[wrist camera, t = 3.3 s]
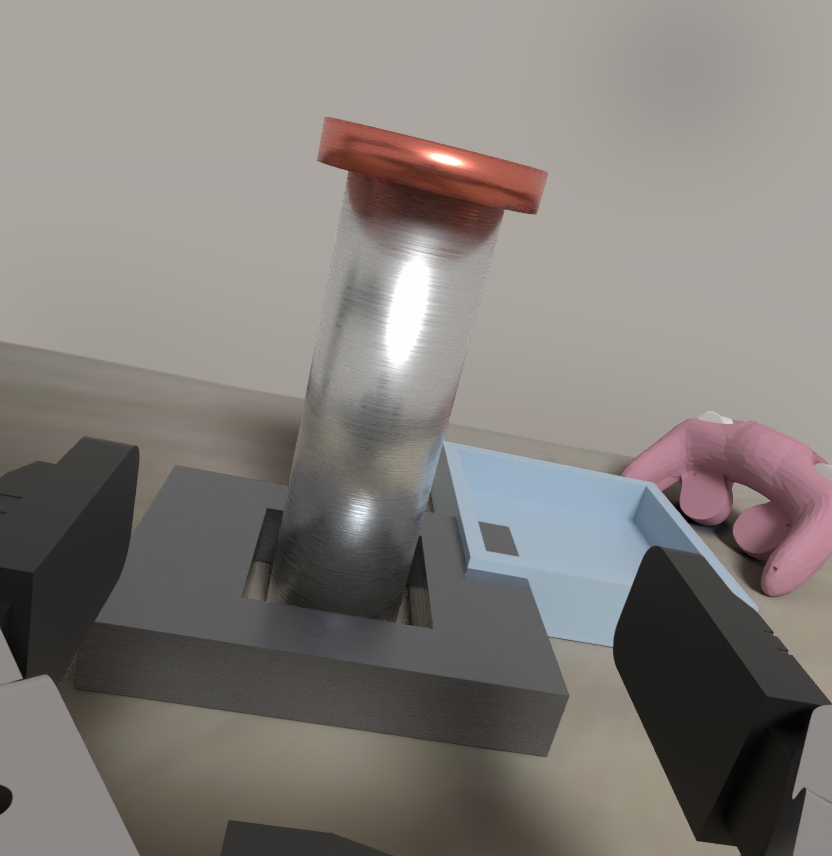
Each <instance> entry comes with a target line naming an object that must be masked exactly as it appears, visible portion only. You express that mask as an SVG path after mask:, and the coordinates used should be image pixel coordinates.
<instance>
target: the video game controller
mask: <svg viewBox="0 0 832 856" xmlns="http://www.w3.org/2000/svg"><path fill="white" fill-rule="evenodd" d="M620 476H623V477H628V478H633V479H638V480H643V481H648V482H653V483H655V484H656V486H657V487H658V488H659V489H660V490H661V492H662V491H664V490H665V489H667V488H669V487H670V486H672V485H673V484H675V483H676V482H680V483H681V484H682V490H681V495H680V506H681V509H682V511H683V512H684V513H685V514H686V515H687V516H688V517H690V518H691V519H692V520H693V521H695V522H696V523H698V524H700V525H703V526H714V525H717V524H720V523H722V522H723V521H724V520H725V519H726V518H727V517H728V516H729V514H730V512H731V510H732V504H733V494H732V486H733V483H734V482H736V483H739V484H742V485H745V486H748V487H749V488H751V489H753V490H755V491H757V492H759V493H760V494H762V495H763V496H765V497H766V498H768V499H769V500H771V502H768V503H765V504H761V505H756V506H753V507H751V508H749V509H747V510H745V511H744V512H743V513H742V514H741V515H740V516H739V517H738V518H737V520H736V521H735V523H734V526H733V535H734V538H735V540H736V542H737V543H738V545H739V546H740V547H741V549H742V550H743V551H744V552H745V553H746V554H748V555H749V556H751V557H753V558H755V559H758V560H763V561H766V560H768V561H767V563H766V565H765V567H764V570H763V574H762V578H761V589H762V591H763V592H764V593H765V594H766V595H768V596H771V597H774V596H782V595H785V594H787V593H790V592H792V591H793V590H795V589H797V588H798V587H800V586H801V585H802V584H804V583H805V582H806V581H807V580H809V579H810V578H811V577H812V576H813V575H814V574H815V573H816V572H817V571H818V570H819V569H820V568H821V567H822V565H823V564H824V563H825V562H826V561H827V559H828V558H829V557H830V556H831V554H832V465H830V464H829V463H828V462H827V461H825V460H824V459H823V458H822V457H820V456H819V455H818V454H817V453H815V452H814V451H813V450H812V449H810V448H809V447H808V446H806V445H805V444H803V443H801V442H799V441H797V440H795V439H794V438H792V437H790V436H787V435H785V434H783V433H781V432H778V431H776V430H774V429H771V428H769V427H767V426H764V425H762V424H759V423H757V422H753V421H749V422H743V421H737V420H731V419H729V418H727V417H720V415H718V414H717V413H715V412H705V413H703V414H702V415H700V416H699V418H698V419H687V420H685V421H684V422H682V423H680V424H679V425H677V426H676V427H674V428H673V429H672V430H671V431H669V432H668V433H667V434H666V435H664V436H663V437H662V438H661V439H659V440H658V441H657V442H656V443H654V444H653V445H652V446H650V447H649V448H648V449H646V450H645V451H644V452H642V453H641V454H640V455H638V456H637V457H636V458H635V459H633V460H632V461H631V462H630V463H629V464H628V465H627V466H626V467H625V469H624V470H623V472H622V473H621V475H620Z"/></svg>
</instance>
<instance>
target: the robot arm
mask: <svg viewBox="0 0 832 856" xmlns="http://www.w3.org/2000/svg"><path fill="white" fill-rule="evenodd" d="M138 469H139V449H138V447H137V446H135V445H129V444H124V443H119V442H113V441H108V440H103V439H98V438H92V437H87V436H85V437H83V438H81V439H80V440H79V441H78V442H77V443H76V444H75V445H74V447H73V448H72V449H71V450H70V451H69V452H68V453H67V454H66V455H65V456H64V457H63V458H62V459H61V460H60V461H59V462H58V463H57V464H52V463H46V462H41V461H37V462H34V463H32V464H29V465H27V466H24V467H21V468H19V469H16V470H14V471H11V472H8V473H6V474H5V475H4V476H3V477H2V478H0V856H140V855H139V853H138V851H137V849H136V847H135V845H134V843H133V841H132V839H131V837H130V835H129V833H128V831H127V829H126V827H125V825H124V823H123V821H122V819H121V817H120V815H119V813H118V811H117V809H116V807H115V805H114V803H113V801H112V799H111V796H110V794H109V792H108V790H107V788H106V786H105V784H104V782H103V780H102V778H101V776H100V774H99V772H98V770H97V768H96V766H95V764H94V762H93V760H92V758H91V756H90V754H89V752H88V750H87V748H86V746H85V744H84V742H83V740H82V738H81V736H80V734H79V732H78V730H77V728H76V726H75V724H74V722H73V720H72V717H71V715H70V713H69V711H68V709H67V707H66V705H65V703H64V701H63V699H62V697H61V695H60V693H59V691H58V689H57V685H58V683H59V681H60V680H61V678H62V676H63V675H64V673H65V671H66V669H67V668H68V666H69V664H70V663H71V661H72V659H73V657H74V656H75V654H76V652H77V651H78V649H79V647H80V645H81V644H82V642H83V640H84V639H85V637H86V635H87V633H88V632H89V630H90V628H91V627H92V625H93V623H94V621H95V620H96V618H97V616H98V615H99V613H100V611H101V609H102V608H103V606H104V604H105V603H106V601H107V599H108V597H109V596H110V594H111V592H112V591H113V589H114V587H115V585H116V584H117V582H118V580H119V578H120V576H121V573H122V570H123V567H124V564H125V561H126V557H127V553H128V549H129V544H130V537H131V528H132V520H133V511H134V503H135V494H136V486H137V477H138ZM773 633H774V632H773V631H772V630H771V628H770V627H769V626H768V625H767V624H766V622H765V621H764V620H763V619H762V617H761V616H760V615H759V614H758V613H757V611H756V610H755V609H753V608H752V607H751V606H749V605H748V604H747V603H746V602H744V601H743V600H742V599H740V598H739V597H738V596H736V595H735V594H734V593H733V592H732V591H731V590H730V589H729V587H728V586H727V585H726V584H725V582H724V581H723V580H722V579H721V577H720V576H719V575H718V574H717V572H716V571H715V570H714V569H713V567H712V566H711V565H710V564H709V562H708V561H707V560H706V559H705V557H704V556H703V555H701V554H698V553H693V552H688V551H682V550H677V549H672V548H667V547H661V546H652V547H650V548H649V549H648V550H647V551H646V553H645V554H644V556H643V558H642V561H641V563H640V566H639V568H638V571H637V573H636V576H635V579H634V581H633V584H632V586H631V589H630V592H629V594H628V597H627V599H626V602H625V605H624V607H623V610H622V612H621V615H620V618H619V620H618V623H617V626H616V629H615V633H614V639H613V655H614V661H615V665H616V667H617V670H618V672H619V674H620V676H621V678H622V680H623V683H624V685H625V687H626V689H627V691H628V693H629V696H630V698H631V700H632V702H633V704H634V706H635V709H636V711H637V713H638V715H639V717H640V719H641V722H642V724H643V726H644V728H645V730H646V732H647V735H648V737H649V739H650V741H651V743H652V745H653V748H654V750H655V752H656V754H657V756H658V758H659V761H660V763H661V765H662V767H663V769H664V771H665V774H666V776H667V778H668V780H669V782H670V784H671V787H672V789H673V791H674V793H675V795H676V797H677V800H678V802H679V804H680V806H681V808H682V810H683V813H684V815H685V817H686V819H687V821H688V823H689V826H690V828H691V830H692V832H693V834H694V836H695V839H696V841H700V842H708V843H715V844H722V845H730V846H737V848H738V849H739V851H740V854H739V856H832V703H831V702H830V701H829V700H828V698H827V697H826V696H825V695H824V693H823V692H822V691H821V690H820V689H819V687H818V686H817V685H816V684H815V682H814V681H813V680H812V679H811V678H810V676H809V675H808V674H807V673H806V671H805V670H804V669H803V668H802V666H801V665H800V664H799V663H798V662H797V660H796V659H795V658H794V657H793V655H788V649H787V648H786V647H785V646H784V644H783V643H782V642H781V641H780V640H779V638H778V637H776V636H773ZM221 856H392V855H390V854H387V853H384V852H381V851H379V850H376V849H373V848H371V847H368V846H365V845H362V844H360V843H357V842H354V841H351V840H349V839H346V838H343V837H341V836H338V835H335V834H332V833H324V832H317V831H309V830H301V829H293V828H285V827H278V826H270V825H262V824H254V823H247V822H239V821H231V820H228V825H227V829H226V834H225V839H224V843H223V848H222V853H221Z"/></svg>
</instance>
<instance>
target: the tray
mask: <svg viewBox="0 0 832 856" xmlns="http://www.w3.org/2000/svg"><path fill="white" fill-rule="evenodd" d="M430 492H431V498H432V504H433V510H434V513H437V514H442V515H448V516H453V517H456V519H457V524H458V528H459V533H460V537H461V542H462V546H463V550H464V555H465V559H466V564H467V568H470V569H476V570H482V571H487V572H493V573H499V574H504V575H510V576H516V577H521V578H527V579H528V582H529V584H530V587H531V590H532V593H533V596H534V598H535V601H536V604H537V607H538V610H539V612H540V615H541V618H542V621H543V624H544V626H545V629H546V632H547V635H548V636H550V637H556V638H562V639H568V640H574V641H580V642H586V643H592V644H598V645H604V646H610V647H613V639H614V633H615V629H616V626H617V623H618V620H619V618H620V615H621V612H622V610H623V607H624V605H625V602H626V599H627V597H628V594H629V592H630V589H631V586H632V584H633V581H634V579H635V576H636V573H637V571H638V568H639V566H640V563H641V561H642V558H643V556H644V554H645V553H646V551H647V550H648V549H649V548H650V547H652V546H661V547H667V548H672V549H677V550H682V551H688V552H693V553H698V554H701V555H703V556H704V557H705V559H706V560H707V561H708V562H709V564H710V565H711V566H712V567H713V569H714V570H715V571H716V572H717V574H718V575H719V576H720V577H721V579H722V580H723V581H724V582H725V584H726V585H727V586H728V587H729V589H730V590H731V591H732V592H733V593H734V594H735V595H736V596H738V597H739V598H740V599H742V600H743V601H744V602H746V603H747V604H748V605H749V606H751V607H752V608H753V609H755V610H756V611H757V613H758V610H759V608H758V607H757V606H756V604H755V603H754V602H753V601H752V600H751V598H750V597H749V596H748V595H747V594H746V592H745V591H744V590H743V589H742V588H741V586H740V585H739V584H738V583H737V582H736V580H735V579H734V578H733V577H732V576H731V574H730V573H729V572H728V571H727V570H726V568H725V567H724V566H723V565H722V564H721V562H720V561H719V560H718V559H717V558H716V556H715V555H714V554H713V553H712V552H711V550H710V549H709V548H708V547H707V546H706V544H705V543H704V542H703V541H702V540H701V538H700V537H699V536H698V535H697V534H696V532H695V531H694V530H693V529H692V528H691V526H690V525H689V524H688V523H687V522H686V520H685V519H684V518H683V517H682V516H681V514H680V513H679V512H678V511H677V510H676V508H675V507H674V506H673V505H672V504H671V502H670V501H669V500H668V499H667V498H666V496H665V495H664V494H663V493H662V492H661V490H660V489H659V488H658V487H657V486H656V484H655V483H653V482H648V481H643V480H638V479H633V478H628V477H623V476H618V475H613V474H608V473H603V472H597V471H592V470H587V469H582V468H577V467H572V466H567V465H562V464H557V463H552V462H547V461H542V460H537V459H532V458H527V457H522V456H517V455H512V454H507V453H502V452H497V451H492V450H487V449H482V448H477V447H472V446H467V445H462V444H457V443H452V442H447V441H444V442H443V445H442V449H441V453H440V457H439V461H438V464H437V468H436V472H435V476H434V480H433V483H432V487H431V491H430ZM478 521H480V522H486V523H491V524H496V525H502V526H507V527H509V529H510V531H511V534H512V537H513V540H514V543H515V545H516V548H517V551H518V554H519V557H517V556H512V555H506V554H501V553H495V552H490V551H486V549H485V545H484V541H483V538H482V534H481V531H480V527H479V524H478Z"/></svg>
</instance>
